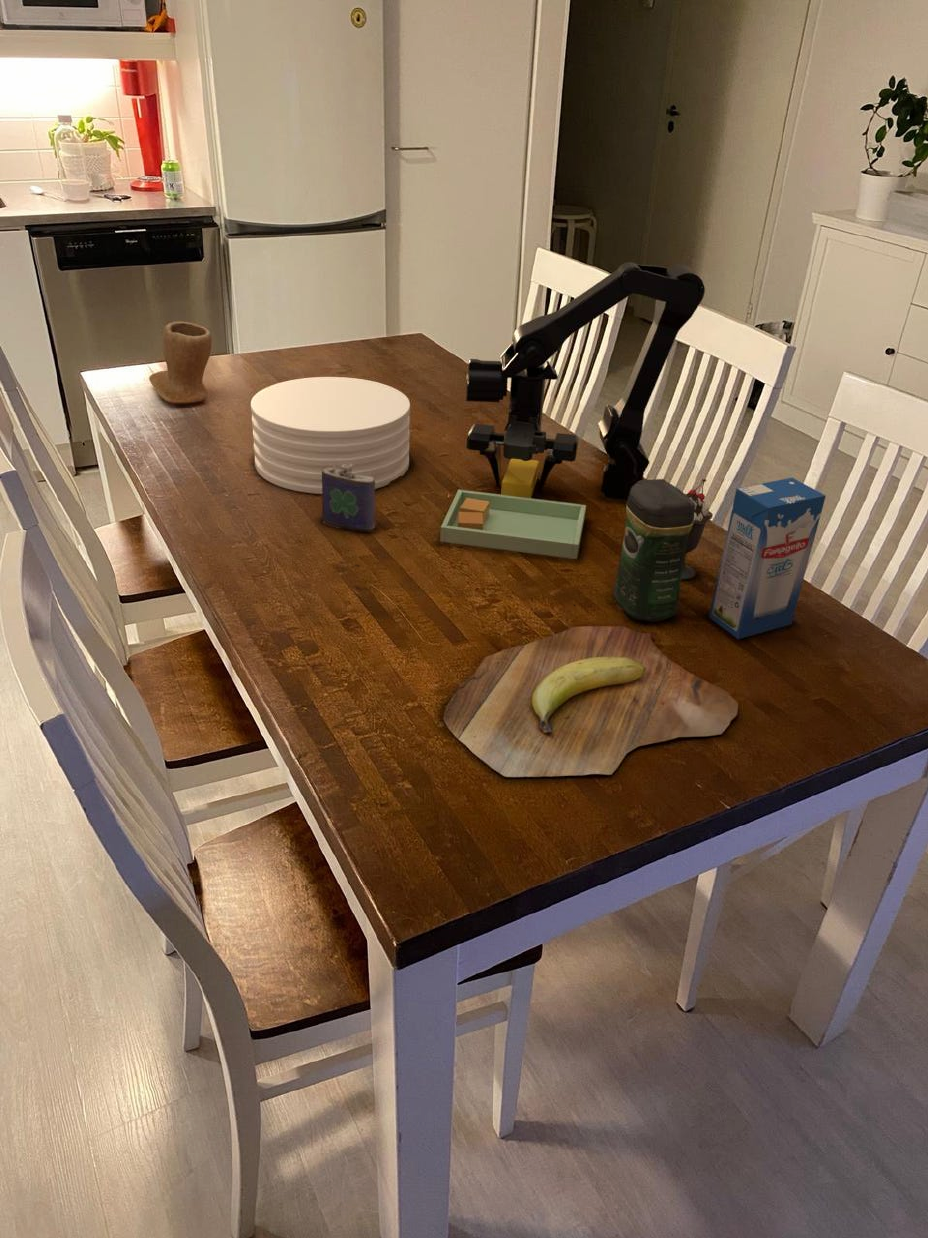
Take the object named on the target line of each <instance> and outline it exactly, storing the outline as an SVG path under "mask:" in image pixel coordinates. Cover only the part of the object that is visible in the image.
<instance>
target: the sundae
mask: <svg viewBox="0 0 928 1238" xmlns="http://www.w3.org/2000/svg"><path fill="white" fill-rule="evenodd" d="M706 481H707V479H706V478H702V479H701V482H700V484H699V486H697V487H696V488H695V489H690V490H689V491H688V492H687V493H685V494H686V495H687V496H688V497H689V498H690V499H691V500H692V501H693V502H694V503H695V511H694V523H693V526H692V529H691V531H690V533H689V536H688V540H687V545H686V550H685V557H684V563H683V569H682V576H681V581H682V580H683V581H684V580H690V579H692V578H694V577H695V576H696V571H695V569H694V568H693V567H691V566H690V565H687V564H686V556H687V554H688V553H691V552H693V551H694V550H696V549H697V547H698V545H699V543H700V541H701V538H702V535H703V532H704V531H705V530H704V529H705V527H706V524H707V523H709V522H710V521H711V520H712V518H713V513H712V512H711V511H709V510H710V509H709V505H708V504H707V502H706V501H705V498H706V496H705V493H704V484H705V482H706ZM700 487H701V492H699V493H697V492H698V491H697V490H698V489H699V488H700Z"/></svg>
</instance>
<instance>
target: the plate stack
mask: <svg viewBox="0 0 928 1238" xmlns="http://www.w3.org/2000/svg"><path fill="white" fill-rule="evenodd" d="M250 412H251V425H252V440H253V453H254V468H255V470H256V471H257V473H258V474H259V475H260V476H261V477H262V478H263V479H264V480H266V481H267V482H269V483H271V484H273V485H275V486H277V487H281V488H284V489H287V490H291V491H295V492H300V493H306V494H315V495H322V471H323V470H324V469H326V468H332V467H335V468H337V469H339V470H342V469H343V468H342V465H343V464H347V465H349V463H351V464H352V465H353V467H352V468H351V470H352V471H351V473H352V474H357V475H364V476H371V477H373V478H374V479H375V490H376V489H380V488H383V487H386V486H388V485H390V484H391V482H392V481H394V480H396V479H398V478H399V477H403V476H404V475H405V474H406V473H407V471H408V470H409V468H410V456H409V454H410V434H411V433H410V432H411V431H410V425H411V416H410V413H411V402H410V399H409V397H407V395H405V393H404V392H402V391H400V390H398V389H397V388H394V387H392V386H390V385H387V384H384V383H381V382H377V381H373V380H370V379H369V380H368V379H363V378H355V377H344V376H343V377H342V376H317V377H316V376H313V377H305V378H304V377H303V378H296V379H291V380H286V381H282V382H278V383H275V384H272V385H270V386H269V385H268V386H267V387H265V388H263V389H261V390H260V391H258V392H257V393H256V394H254V395H253V397H252V399H251V401H250Z"/></svg>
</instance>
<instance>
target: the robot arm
mask: <svg viewBox="0 0 928 1238" xmlns="http://www.w3.org/2000/svg"><path fill="white" fill-rule="evenodd" d="M705 293H706V287H705V285H704V282H703V280H702V279H701V277H700V276H699V275H698V274H697V273H696V272H695V271H694V270H693V269H692V268H691V267H689V266H688V265H685V264H675V265H672V266H670V267H665V266H660V265H650V264H640V263H639V264H638V263H636V262H631V261H628V262H624V263H622V264H620V265H619V267H618V268H617V269H616V270H615V271H613V272H611V273H610V274H609V275H607V276H606V277H604V278H603V279H601V280H600V281H599V282H597V283H596V284H594V285H593V286H591V287H590V288H588V289H587V290H586V291H583V292H582V293H581V294H580V295H578V296H576V297H575V298H573V299H572V300H570V302H567V304H564V305H563V306H562V307H560V308H559V309H558V310H555V311H553V312H551V313H548V314H544V315H541V316H538V317H535V318H534V319H531V320H529V321H527V322H525V323H523V324H521V325H519V326H518V327H517V328H516V329H515V331H514V332H513V337H512V342H511V343H510V344H509V345H508V346H507V347H506V349H505V350H504V351H503V353H502V354H501V355H500V356H499V360H483V359H482V360H481V359H477V358H469V359H468V366H467V374H465V375H466V376H465V402H474V403H475V402H476V403H478V402H479V403H500V402H501V401H503V400H504V397H507V394H508V384H509V383H508V379H510V387H509V388H510V390H509V402H508V403H509V404H508V414H507V423H506V425H505V428H504V433H501V432H495V431H496V427H495V425H489V424H482V423H474V424H473V425H472V426H471V428H470V429H469V432H468V433H467V437H466V449H467V450H470V451H478V453H479V455H481V456H484V457H485V458H486V459H487V461H488V463H489V464H490V467H491V470H492V474H493V477H494V481H495V485H496V487H500V485H501V480H502V479H501V478H502V455H503V458H505V459H506V460H511V459H520V460H523V461H529V460H533V455H538V454H544V453H545V451H546V455H545V458H544V462H543V465H542V466H543V467H542V470H541V475H540V479H539V483H538V492H542V489H543V487H544V486H545V484H546V482H547V479H548V476H549V474H550V473H551V472H552V470H553V468H554V467H555V465H560V464H561V465H562V464H563V462H576V459H577V454H578V450H579V443H580V438H579V437H578V436H577V434H572V433H571V434H568V433H562V432H556V435H555V438H547V432H546V431H542V424H543V423H542V422H543V413H544V412H543V410H544V402H545V401H544V400H545V389H546V380H547V381H548V380H553V381H556V380H558V379H559V376H558V373H557V370H556V369H555V368H554V367H553V366H552V365H551V362H550V361H549V359H550V358H552V356H554V355H555V354H556V353H557V352H558V351H559V350H560V349H561V347H562V346H563V345H564V343H566V341H567V340H568V339H569V338H570V337H571V336H572V335H573V334H574V333H576V332H577V331H579V330H580V329H582V328H583V327H585V326H586V325H588V324H589V323H592V321H594V320H595V319H597V318H598V317H600V316H602V315H603V314H604V313H605V312H607V311H609V310H610V309H612V308H614V307H615V306H616V305H617V304H619V303H620V302H622V301H623V300H625V299H626V298H628V297H630V296H631V295H638V296H639V295H640V296H644V297H647V298H649V299H654V300H655V306H654V316H653V321H652V323H651V324H650V328H649V330H648V333H647V336H646V338H645V340H644V343H643V345H642V347H641V350H640V352H639V354H638V357H637V359H636V362H635V364H634V367H633V369H632V371H631V375H630V377H629V379H628V381H627V384H626V387H625V389H624V391H623V394H622V396H621V398H620V400H618V402H617V403H616V404H615V405H614V406H612V405H610V404H606V405H605V407H604V411H603V415H602V418H601V420H600V421H599V422H598V423H597V426H598V428H599V433H598V434H599V438H600V441H601V443H602V446H603V448H604V450H605V453H606V455H607V456H608V457H609V458H608V464H606V465H604V469H603V475H602V482H601V492H602V493H603V495H602V497H603V498H604V499H611V500H621V501H628V497H629V493H630V490H631V488H632V487H633V486H634V485H635V484H636V483H637V482H638V481H641V480H644V475H645V472H646V470H647V468H648V467H649V464H650V460H649V458H648V456H647V453H646V452H645V449H644V448H643V445H642V444H641V438H642V434H643V427H644V419H645V411H646V408H647V406H648V404H649V402H650V399H651V397H652V394H653V392H654V390H655V388H656V385H657V383H658V380H659V378H660V375H661V373H662V371H663V368H664V366H665V364H666V362H667V359H668V357H669V355H670V352H671V350H672V347H673V345H674V343H675V341H676V338H677V336H678V334H679V332H680V330H681V329H682V328H683V327H684V326H685V325H686V324H687V323H688V322H689V320H690V319H691V318H693V315H694V314H695V312H696V310H698V307H699V306H700V304H701V303H702V301H703V299H704V297H705ZM501 446H503V450H502V447H501ZM502 451H503V452H502Z"/></svg>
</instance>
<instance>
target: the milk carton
mask: <svg viewBox="0 0 928 1238" xmlns="http://www.w3.org/2000/svg"><path fill="white" fill-rule="evenodd" d="M826 497H827V495H825V494H823V493H822V492H820V491H819V490H816V489H814V488H813V487H811V486H809V485H807V484H805V483H803V482H802V481H800V480H798V479H795V478H794V477H788V478H783V479H778V480H773V481H768V482H763V483H762V482H761V483H757V484H752V485H747V486H743V487H738V488H736V489H735V494H734V498H733V503H732V508H731V512H730V513H731V514H730V516H729V520H728V521H729V522H728V526H727V531H726V535H725V539H724V545H723V550H722V555H721V559H720V564H719V569H718V573H717V577H716V581H715V582H716V583H715V588H714V591H713V592H714V593H713V596H712V600H711V606H710V611H709V615H708V618H709V619H710V620H712V621H714V623H716V624H717V625H719V627H721V628H722V629H724V630H725V631H727V632H728V633H729V634H730V635H732V636H733V637H734V638H735V639H737V640H741V639H744V638H747V637H748V638H749V637H751V636H755V635H758V634H762V633H765V632H768V631H773V630H776V629H779V628H783V627H787V626H791V625H792V623H793V620H794V616H795V612H796V608H797V606H798V601H799V597H800V594H801V590H802V586H803V582H804V579H805V575H806V571H807V568H808V564H809V561H810V556H811V553H812V549H813V545H814V542H815V537H816V533H817V529H818V527H819V523H820V520H821V515H822V512H823V508H824V504H825V502H826V501H825V500H826Z"/></svg>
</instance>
